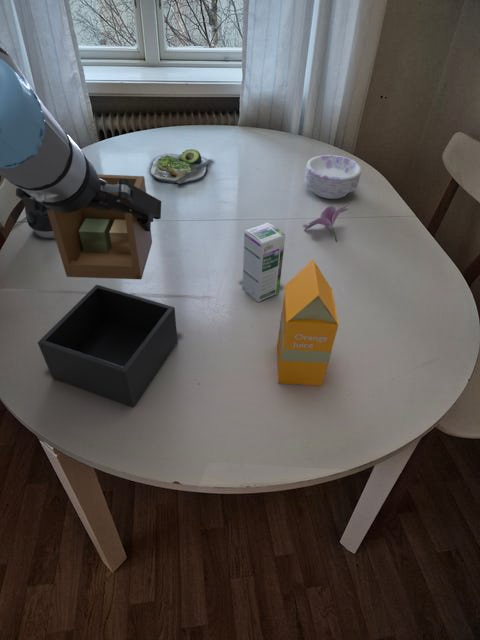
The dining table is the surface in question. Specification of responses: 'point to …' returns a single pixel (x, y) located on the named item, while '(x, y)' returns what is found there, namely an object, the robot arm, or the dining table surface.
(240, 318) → the dining table surface
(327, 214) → the lily
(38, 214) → the dark grey rounded cone
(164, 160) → the salad plate
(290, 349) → the orange juice
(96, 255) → the box
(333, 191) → the paper bowls
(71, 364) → the basket
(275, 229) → the syrup box
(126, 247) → the cube cream
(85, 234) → the cube sage
